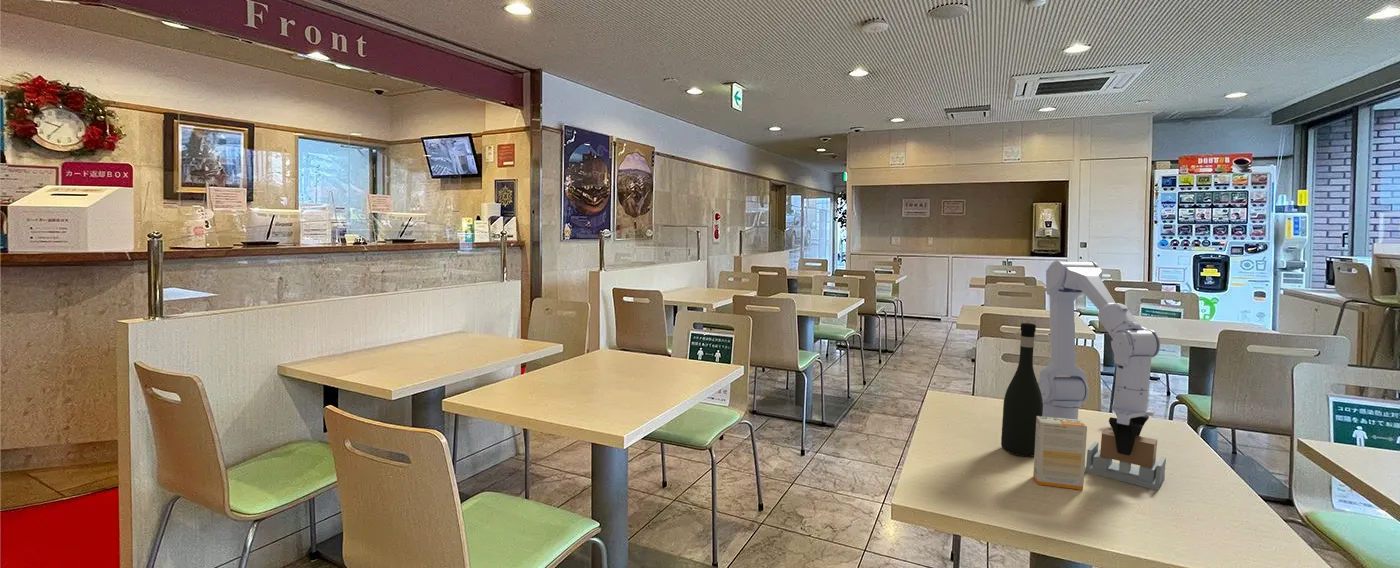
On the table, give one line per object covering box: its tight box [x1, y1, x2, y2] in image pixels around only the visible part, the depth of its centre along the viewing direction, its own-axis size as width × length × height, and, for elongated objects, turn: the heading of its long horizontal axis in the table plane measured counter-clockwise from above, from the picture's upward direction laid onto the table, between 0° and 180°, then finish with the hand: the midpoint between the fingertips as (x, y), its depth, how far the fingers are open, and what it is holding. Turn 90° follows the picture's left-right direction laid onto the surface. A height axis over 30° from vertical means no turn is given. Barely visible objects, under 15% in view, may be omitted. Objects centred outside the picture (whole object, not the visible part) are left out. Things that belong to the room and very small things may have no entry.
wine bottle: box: [1000, 322, 1043, 457], centre depth 139 cm, size 8×8×30 cm
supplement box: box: [1032, 416, 1088, 491], centre depth 122 cm, size 8×5×13 cm, turn 71°
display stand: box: [1084, 441, 1167, 491], centre depth 127 cm, size 13×8×5 cm, turn 46°
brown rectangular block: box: [1099, 429, 1158, 468], centre depth 127 cm, size 9×4×5 cm, turn 46°
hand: (1126, 450), depth 127 cm, fingers open, 5 cm apart
